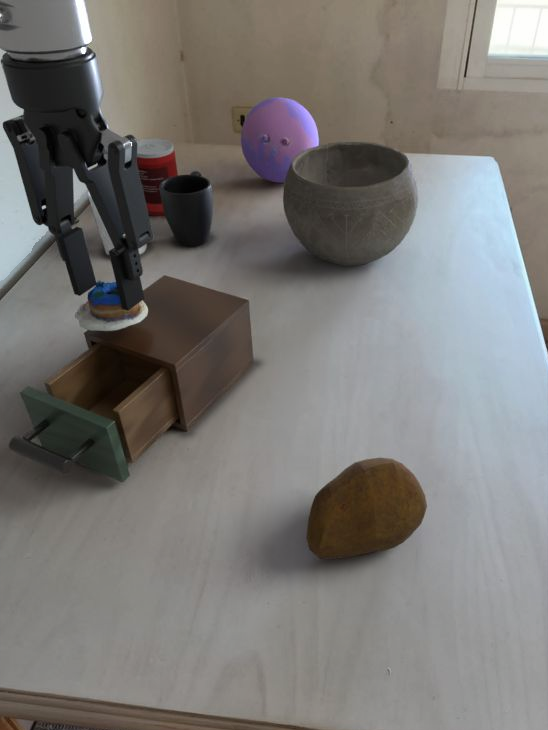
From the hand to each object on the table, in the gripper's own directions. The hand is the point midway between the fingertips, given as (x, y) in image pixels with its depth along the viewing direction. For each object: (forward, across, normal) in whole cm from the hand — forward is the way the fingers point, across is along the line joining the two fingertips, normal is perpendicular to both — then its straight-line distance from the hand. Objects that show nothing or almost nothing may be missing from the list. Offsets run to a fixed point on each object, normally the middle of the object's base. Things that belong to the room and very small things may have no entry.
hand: (109, 295), depth 67 cm
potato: (+14, +33, -6) cm, 37 cm away
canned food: (+14, -30, +46) cm, 57 cm away
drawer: (+13, +3, -8) cm, 16 cm away
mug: (+14, -18, +40) cm, 46 cm away
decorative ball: (+14, -17, +68) cm, 71 cm away
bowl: (+14, +8, +46) cm, 49 cm away
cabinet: (+14, +3, +5) cm, 15 cm away
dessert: (+3, 0, 0) cm, 3 cm away
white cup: (+14, -25, +30) cm, 42 cm away
